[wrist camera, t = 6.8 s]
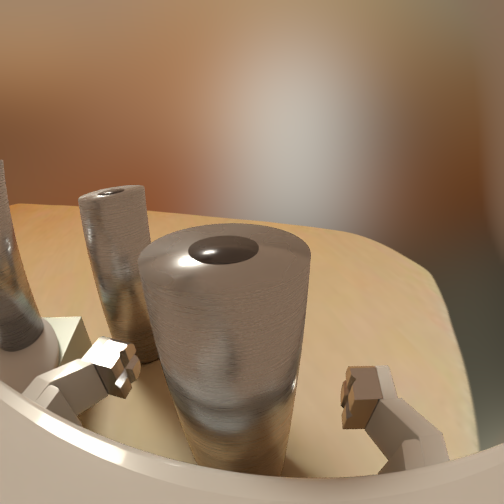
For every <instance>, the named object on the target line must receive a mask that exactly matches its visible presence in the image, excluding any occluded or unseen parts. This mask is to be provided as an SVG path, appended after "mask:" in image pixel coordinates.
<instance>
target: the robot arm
mask: <svg viewBox="0 0 504 504" xmlns="http://www.w3.org/2000/svg"><path fill="white" fill-rule="evenodd" d="M135 352H136V349H135V346H134V344H131V343H128V342H124V341H120V340H116V339H111V338H108V337H104V336H102V337H99V339H98V340H97V341H96V342H95V343H94V344H93V346H92V347H91V348H90V349H89V350H88V352H87V353H86V354H85V355H84V356H83V358H82V359H76V360H74V361H72V362H69V363H67V364H65V365H62V366H60V367H58V368H55V369H53V370H51V371H48V372H46V373H44V374H41V375H39V376H37V377H36V378H35V379H34V380H33V381H32V382H31V384H30V385H29V386H28V387H27V388H26V390H25V391H24V392H23V393H22V394H20V393H19V392H17V391H16V390H14V389H13V388H11V387H10V386H8V385H7V384H5V383H4V382H2V381H1V380H0V504H504V443H502V444H499V445H497V446H494V447H492V448H489V449H486V450H483V451H480V452H477V453H474V454H471V455H468V456H465V457H462V458H458V459H455V460H451V461H450V460H449V456H448V452H447V448H446V445H445V441H444V438H443V434H442V433H441V432H440V431H439V430H438V429H437V428H436V427H435V426H433V425H432V424H431V423H430V422H429V421H428V420H426V419H425V418H424V417H423V416H422V415H421V414H419V413H418V412H417V411H416V410H415V409H414V408H413V407H411V406H410V405H409V404H408V403H407V402H406V401H405V400H403V399H402V398H398V396H397V393H396V389H395V385H394V382H393V378H392V375H391V371H390V368H389V366H388V365H385V366H348V368H347V371H346V380H345V381H344V382H343V384H342V388H341V406H342V407H343V408H344V410H343V412H342V428H343V429H365V431H366V432H367V434H368V435H369V436H370V437H371V439H372V440H373V441H374V443H375V444H376V445H377V446H378V448H379V449H380V450H381V452H382V453H383V454H384V455H385V457H386V458H387V459H388V460H389V461H388V462H387V463H386V464H385V466H384V467H383V468H382V469H381V470H380V471H379V472H378V474H377V475H368V476H356V477H339V478H295V477H277V476H265V475H255V474H247V473H239V472H232V471H226V470H220V469H214V468H209V467H204V466H199V465H195V464H190V463H186V462H182V461H178V460H174V459H170V458H166V457H163V456H159V455H156V454H152V453H149V452H146V451H143V450H140V449H137V448H134V447H131V446H128V445H125V444H122V443H120V442H117V441H114V440H112V439H109V438H107V437H104V436H102V435H99V434H97V433H95V432H92V431H90V430H88V429H86V428H83V427H82V423H81V422H80V420H79V419H78V417H77V415H79V414H80V413H82V412H83V411H85V410H87V409H88V408H90V407H91V406H93V405H94V404H96V403H97V402H99V401H100V400H102V399H103V398H105V397H106V396H108V394H109V395H113V396H116V397H120V398H123V399H126V397H127V395H128V394H129V392H130V390H131V389H132V385H131V383H132V382H134V381H136V380H137V379H138V377H139V375H140V370H141V364H140V360H139V358H138V357H137V356H136V355H135Z"/></svg>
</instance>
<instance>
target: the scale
mask: <svg viewBox="0 0 504 504" xmlns="http://www.w3.org/2000/svg"><path fill="white" fill-rule="evenodd" d="M41 318H42V321H43V323H44V330H43V332H42V334H41V336H40V337H39V338H38V339H37V340H36V341H35V342H34V343H33V344H32V345H30V346H29V347H27V348H25V349H22V350H19V351H15V352H8V351H4V350H2V349H1V348H0V380H1V381H2V382H4V383H5V384H7V385H8V386H10V387H11V388H13V389H14V390H16V391H17V392H19V393H20V394H22V393H23V392H24V391H25V390H26V388H27V387H28V386H29V385H30V384H31V382H32V381H33V380H34V379H35V378H36V377H37V376H39V375H41V374H44V373H46V372H48V371H51V370H53V369H55V368H58V367H60V366H62V365H65V364H67V363H69V362H72V361H74V360H76V359H82V358H83V356H84V355H85V354H86V353H87V352H88V350H89V349H90V348H91V347H92V344H91V341H90V339H89V336H88V334H87V331H86V328H85V326H84V323H83V320H82V317H46V318H43V317H41Z"/></svg>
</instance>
